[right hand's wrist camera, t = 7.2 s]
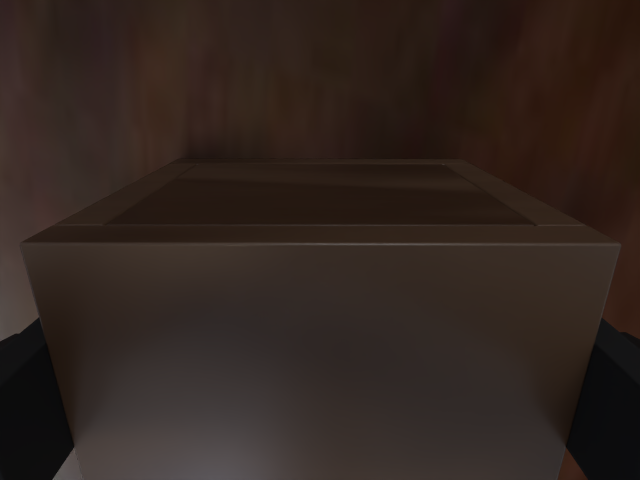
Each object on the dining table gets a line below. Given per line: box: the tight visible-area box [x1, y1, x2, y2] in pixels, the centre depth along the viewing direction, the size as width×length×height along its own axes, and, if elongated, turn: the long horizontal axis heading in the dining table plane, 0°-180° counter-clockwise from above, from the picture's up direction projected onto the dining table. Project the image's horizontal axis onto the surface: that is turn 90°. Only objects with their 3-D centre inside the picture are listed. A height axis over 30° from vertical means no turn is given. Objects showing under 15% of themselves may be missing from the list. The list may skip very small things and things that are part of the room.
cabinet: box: [20, 159, 621, 480], centre depth 15 cm, size 21×11×9 cm, turn 0°
